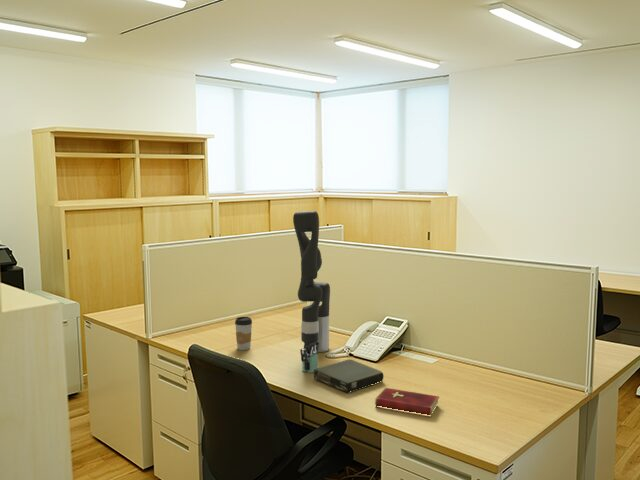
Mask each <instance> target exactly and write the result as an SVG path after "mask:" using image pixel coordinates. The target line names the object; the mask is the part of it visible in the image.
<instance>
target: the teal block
mask: <svg viewBox="0 0 640 480" xmlns="http://www.w3.org/2000/svg"><path fill="white" fill-rule="evenodd" d="M307 355H309V354H307ZM318 355H319V353H318V354H313V353H312V356H311V357H310V370H308V372H307V373H311V372H313V373H314V370H315V369H317V368H319V367H318V366H319V365H318V363H319V361H318V360H319V358H318V357H319V356H318ZM303 358H304V357H303ZM307 358H308V356H307ZM301 366H302V368H301V371H302V372H305V371H307V370H305V369H304V362H302V361H301Z"/></svg>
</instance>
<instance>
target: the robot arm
mask: <svg viewBox="0 0 640 480" xmlns="http://www.w3.org/2000/svg"><path fill="white" fill-rule="evenodd" d="M292 216H293V218H292V221H293V227H294V231H295V236H296V238H297V242H298V246H299V252H300V258H301V259H300V273H301V274H300V275H301V276H300V277H301V278H300V283H299V286H298V290H297V298H298V300H299V301H300V302H303V303H305V302H307V303H308V302H312V303H311V304H310V305H306V306H303V307H302V309H301V324H300V325H301V328H300V329H301V331H300V332H301V334H300V335H301V342H303V348H300V349H299V351H300V352H299V353H300V358H301V359H300V360H301V363H302V362H304V369H305V370H307V371H308V370H310V357H311V356H312V353H313V354H318V355H319V353H324V352H325V353H326V352H328V351H329V350H330V300H331V299H330V298H331V285H330V284H329V283H328V282H318V281H317V282H316V281H314V280H316V279H318V272H319V271H320V270H321V267H322V265H323V264H322V263H323V259H322V253H321V250H320V248H319V236H320V235H319V234H320V217H319V213H318V212H317V211H316V210H305V211H304V210H302V211H301V210H300V211H296V212H294V214H293V215H292ZM306 233H311V236H310V238H309V236H307V234H306ZM307 354H309V355H307ZM307 356H308V358H307ZM303 357H304V358H303Z"/></svg>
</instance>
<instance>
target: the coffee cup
mask: <svg viewBox="0 0 640 480" xmlns="http://www.w3.org/2000/svg"><path fill="white" fill-rule="evenodd" d="M234 325H235V337H236V346H237V350H238V351H239V350H240V351H248V350H250V348H251V346H252V345H251V344H252V343H251V342H252V325H253V320H252V318H251V317H249V316H239V317H236V318H235V321H234Z"/></svg>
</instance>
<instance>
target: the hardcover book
mask: <svg viewBox="0 0 640 480" xmlns="http://www.w3.org/2000/svg"><path fill="white" fill-rule="evenodd" d="M439 398H440V396H439V395H433V394H428V393H421V392H415V391H410V390H404V389H396V388H393V387H392V388H390V387H386V386H385V387H384V388H383V390H382V391H381V392H379V394H378V395H377V396H376V397H375V401H374V406H375V405H376V406H382V407H387V408H392V409H398V410H404V411H409V412H416V413H421V414H427V415H432V416H433V414H432V412H433V410H434V408H435V407H436V405H437V404H439ZM433 413H434V412H433Z"/></svg>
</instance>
